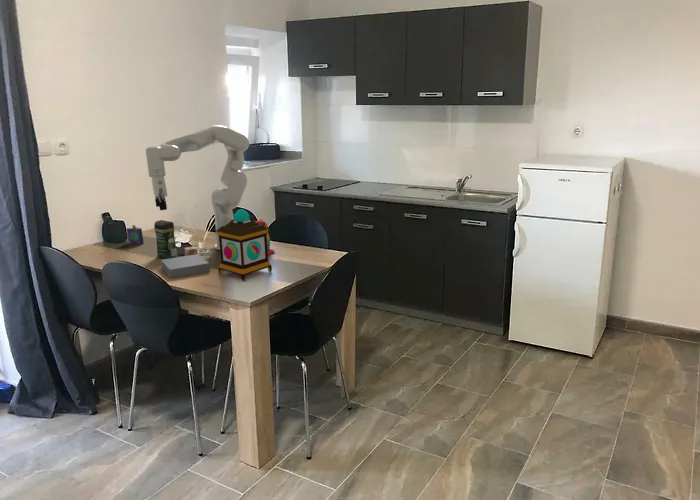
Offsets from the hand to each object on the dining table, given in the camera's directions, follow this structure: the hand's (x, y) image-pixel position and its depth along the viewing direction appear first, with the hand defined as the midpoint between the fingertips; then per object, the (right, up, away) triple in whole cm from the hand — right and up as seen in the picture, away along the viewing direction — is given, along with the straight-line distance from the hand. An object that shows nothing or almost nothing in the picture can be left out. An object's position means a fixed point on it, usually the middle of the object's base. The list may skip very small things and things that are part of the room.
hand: (161, 208), depth 282 cm
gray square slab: (+14, -30, -9) cm, 34 cm away
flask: (-27, -17, +39) cm, 50 cm away
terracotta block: (+13, -25, +7) cm, 29 cm away
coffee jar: (-1, -24, +14) cm, 27 cm away
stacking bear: (+47, -23, +14) cm, 54 cm away
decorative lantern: (+44, -31, -16) cm, 56 cm away
